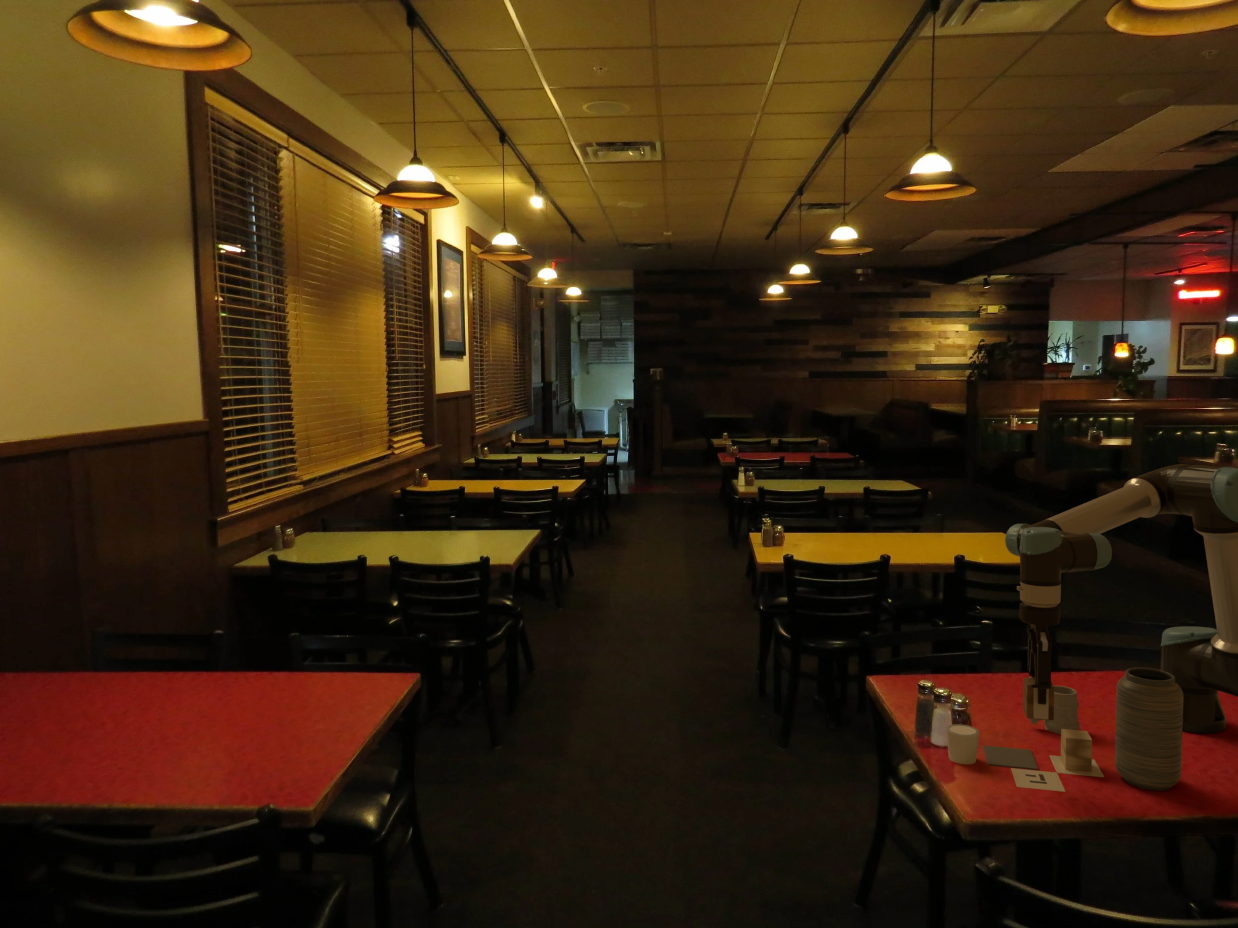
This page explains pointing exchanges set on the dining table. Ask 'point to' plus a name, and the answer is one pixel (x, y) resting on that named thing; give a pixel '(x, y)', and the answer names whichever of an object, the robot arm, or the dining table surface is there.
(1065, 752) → the maple block
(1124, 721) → the vase
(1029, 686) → the walnut block
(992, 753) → the slate coaster
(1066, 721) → the mug
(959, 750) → the beige short cylinder
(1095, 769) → the maple tile
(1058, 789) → the white marker tile
